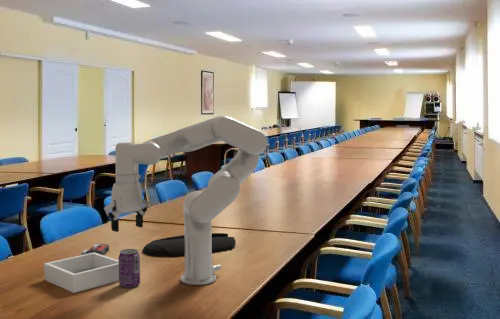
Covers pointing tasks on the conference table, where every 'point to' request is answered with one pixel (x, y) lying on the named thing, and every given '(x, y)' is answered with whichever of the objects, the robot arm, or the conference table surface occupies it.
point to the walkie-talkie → (97, 249)
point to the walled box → (82, 272)
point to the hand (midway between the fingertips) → (127, 229)
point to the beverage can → (129, 268)
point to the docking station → (177, 245)
